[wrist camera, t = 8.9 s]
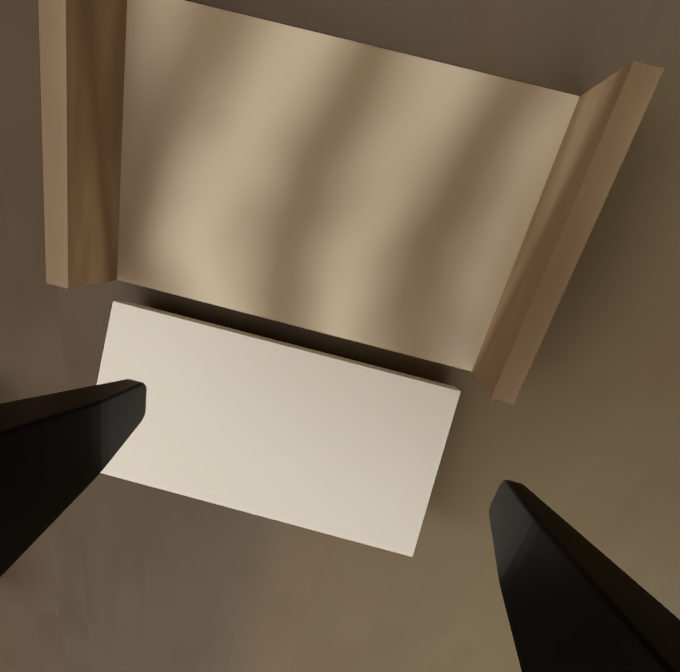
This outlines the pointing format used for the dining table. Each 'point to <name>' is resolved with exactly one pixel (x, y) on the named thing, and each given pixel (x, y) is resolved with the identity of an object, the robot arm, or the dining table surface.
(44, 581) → the dining table surface
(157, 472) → the panel
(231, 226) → the tray
